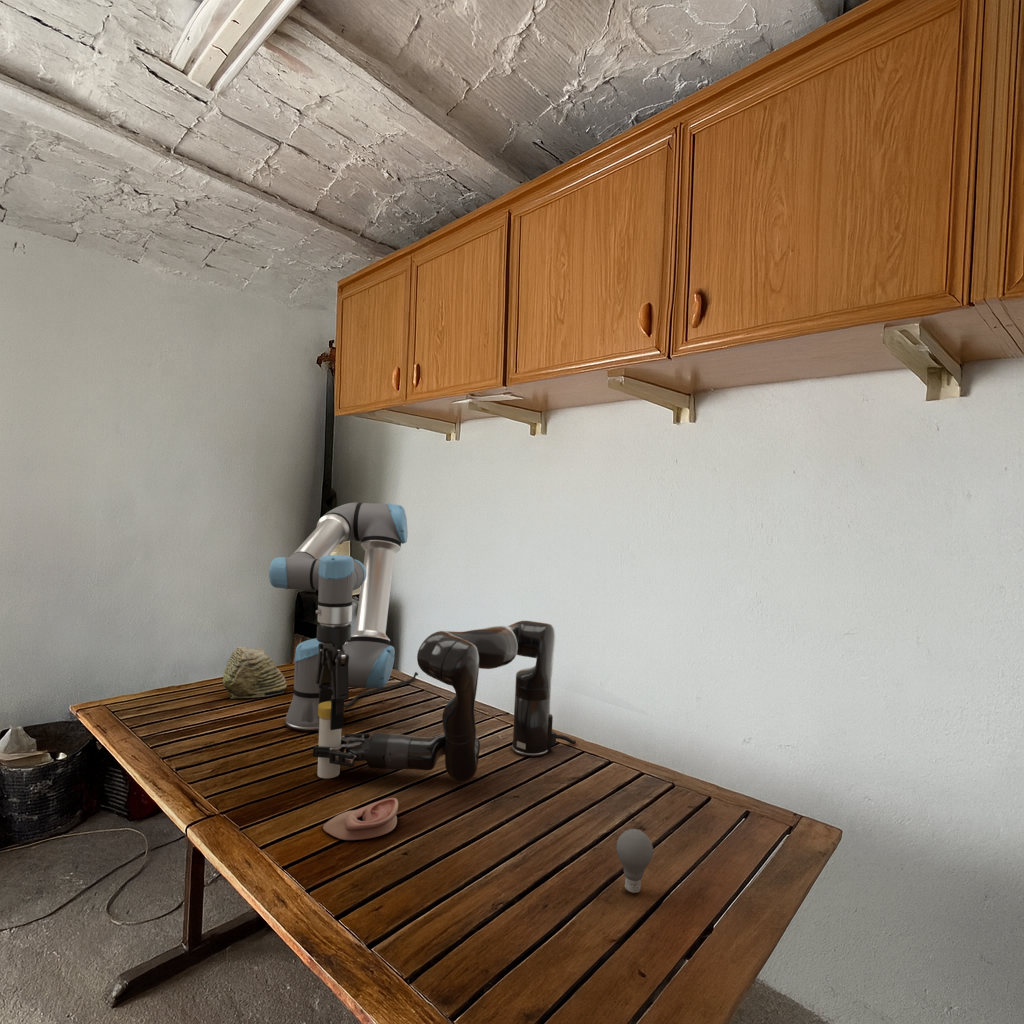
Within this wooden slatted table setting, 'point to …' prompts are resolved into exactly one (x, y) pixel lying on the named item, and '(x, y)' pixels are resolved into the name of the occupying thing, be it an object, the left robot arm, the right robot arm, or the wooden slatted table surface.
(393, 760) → the right robot arm
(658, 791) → the wooden slatted table surface
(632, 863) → the light bulb
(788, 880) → the wooden slatted table surface
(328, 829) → the anatomical model
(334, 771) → the bottle
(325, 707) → the lid
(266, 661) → the fossil
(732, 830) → the wooden slatted table surface
